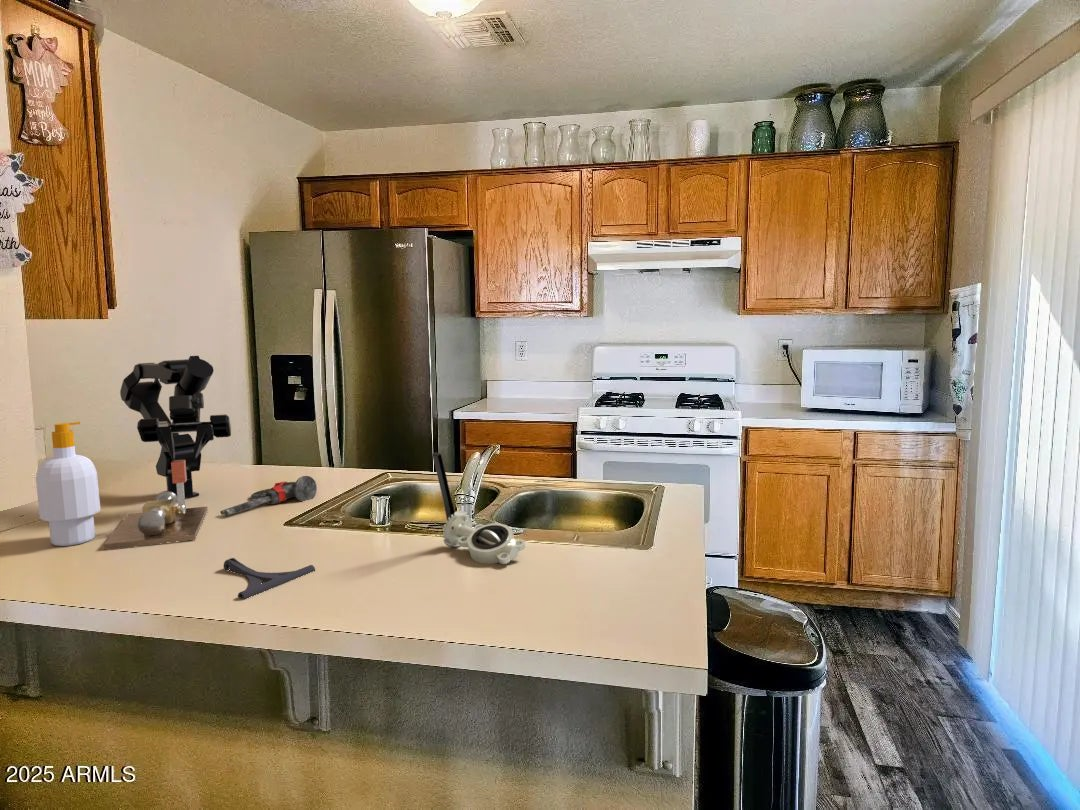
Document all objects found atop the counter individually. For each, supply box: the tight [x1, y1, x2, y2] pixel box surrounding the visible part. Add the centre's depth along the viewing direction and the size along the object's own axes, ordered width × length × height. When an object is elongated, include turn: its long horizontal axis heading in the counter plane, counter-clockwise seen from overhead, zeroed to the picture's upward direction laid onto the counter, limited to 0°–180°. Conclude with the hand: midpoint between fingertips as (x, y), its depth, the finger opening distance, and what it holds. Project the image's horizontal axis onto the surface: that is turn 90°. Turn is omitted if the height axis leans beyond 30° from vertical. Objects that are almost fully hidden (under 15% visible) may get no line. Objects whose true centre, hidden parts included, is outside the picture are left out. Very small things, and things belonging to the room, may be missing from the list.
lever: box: [171, 460, 187, 514], centre depth 148 cm, size 2×2×12 cm
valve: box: [220, 475, 318, 517], centre depth 168 cm, size 6×26×15 cm
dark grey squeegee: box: [223, 557, 316, 600], centre depth 121 cm, size 14×15×3 cm
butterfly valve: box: [432, 452, 526, 565], centre depth 128 cm, size 9×20×17 cm
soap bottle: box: [35, 421, 101, 547], centre depth 139 cm, size 10×10×24 cm
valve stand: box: [103, 490, 209, 551], centre depth 147 cm, size 22×16×6 cm
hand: (183, 458), depth 154 cm, fingers open, 4 cm apart
